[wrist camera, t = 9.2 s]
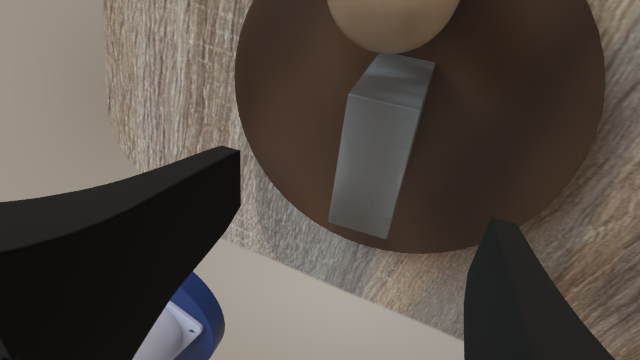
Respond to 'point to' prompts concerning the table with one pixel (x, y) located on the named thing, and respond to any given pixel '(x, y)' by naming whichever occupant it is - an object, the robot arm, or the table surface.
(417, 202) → the disc
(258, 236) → the table surface
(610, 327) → the table surface
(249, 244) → the table surface
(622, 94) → the table surface
